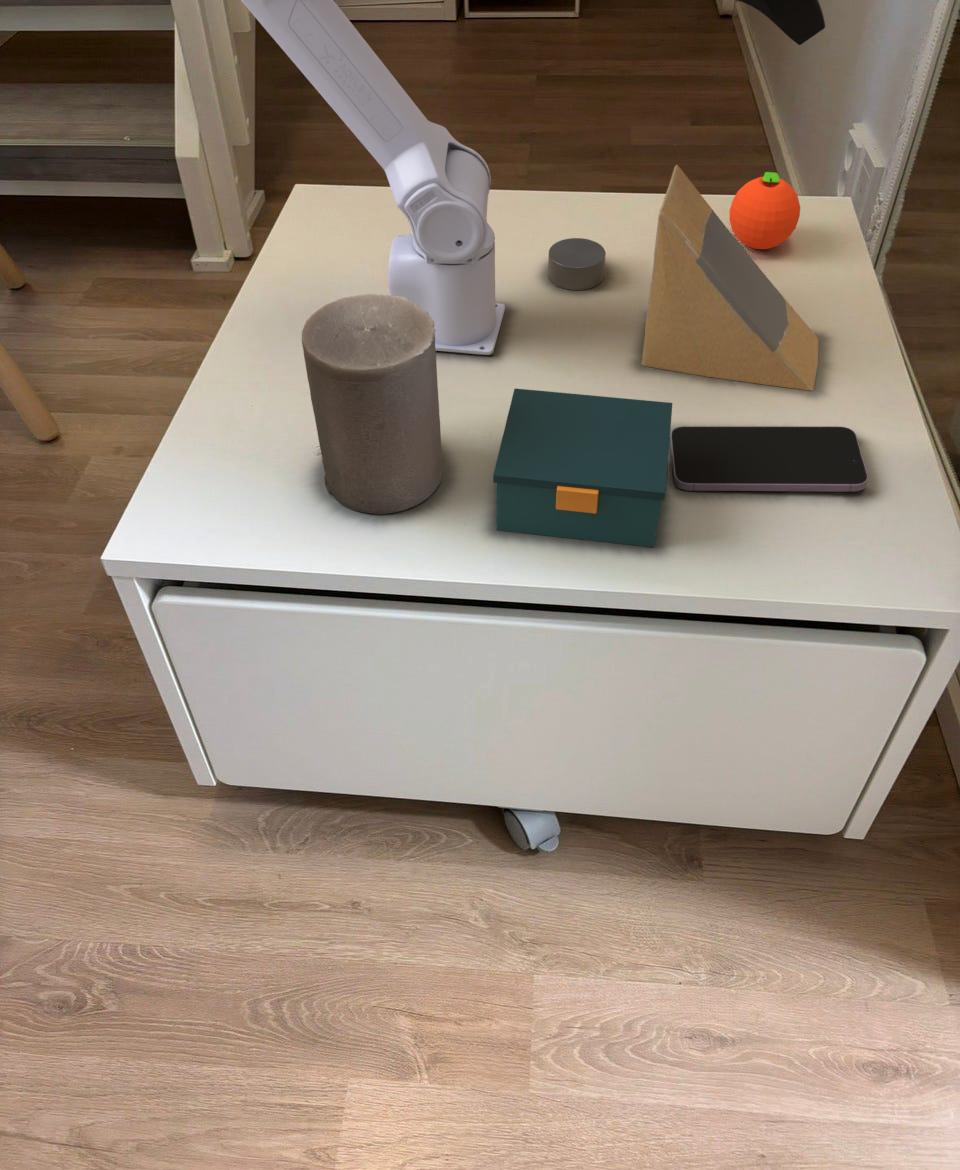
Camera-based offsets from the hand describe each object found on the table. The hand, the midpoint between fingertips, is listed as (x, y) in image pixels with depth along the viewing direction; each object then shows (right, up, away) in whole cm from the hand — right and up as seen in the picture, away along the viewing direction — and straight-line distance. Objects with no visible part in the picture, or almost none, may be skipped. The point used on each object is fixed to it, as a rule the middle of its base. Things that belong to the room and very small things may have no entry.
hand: (809, 9), depth 75 cm
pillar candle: (-32, -33, +8) cm, 47 cm away
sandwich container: (-1, -21, +18) cm, 28 cm away
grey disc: (-15, -11, +28) cm, 33 cm away
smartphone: (-1, -32, +8) cm, 34 cm away
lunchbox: (-16, -35, +6) cm, 39 cm away
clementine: (+5, -7, +31) cm, 32 cm away
